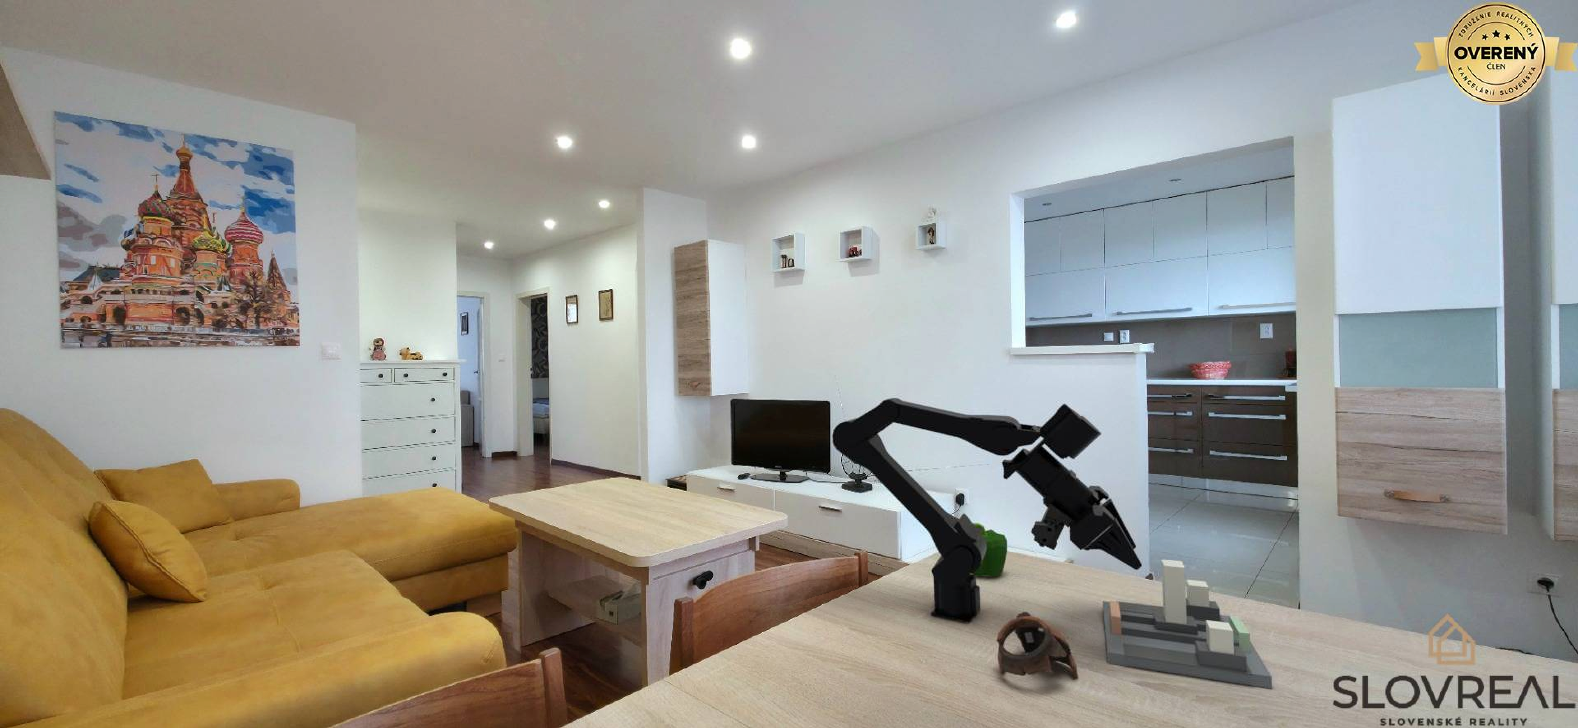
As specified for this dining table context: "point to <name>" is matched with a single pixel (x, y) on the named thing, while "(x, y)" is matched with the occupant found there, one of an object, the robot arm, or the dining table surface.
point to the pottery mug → (1033, 647)
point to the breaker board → (1184, 641)
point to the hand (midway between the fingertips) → (1136, 557)
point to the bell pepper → (992, 553)
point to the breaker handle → (1174, 601)
